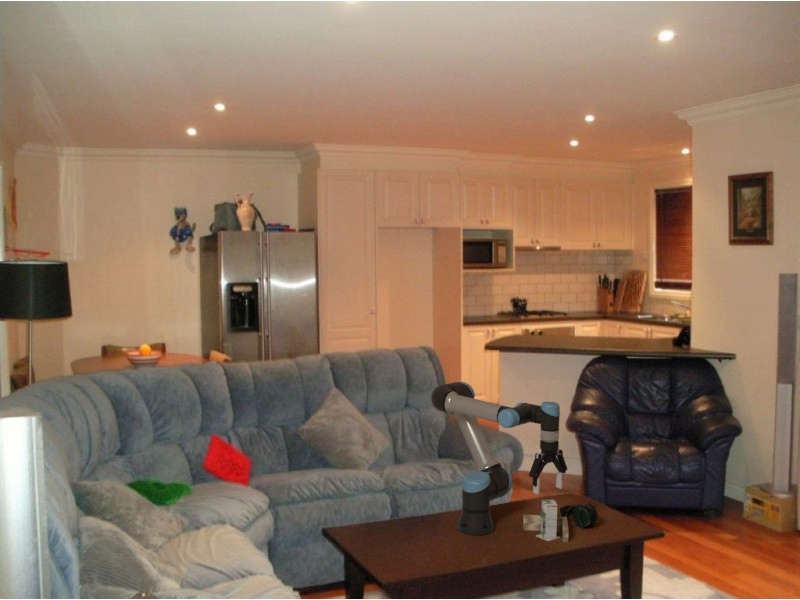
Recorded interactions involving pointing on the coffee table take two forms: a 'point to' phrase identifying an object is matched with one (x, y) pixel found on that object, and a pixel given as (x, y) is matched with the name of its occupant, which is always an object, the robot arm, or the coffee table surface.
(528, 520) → the beige l-shaped wall
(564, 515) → the headphones
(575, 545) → the coffee table surface
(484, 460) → the robot arm
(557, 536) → the pad
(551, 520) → the syrup box
